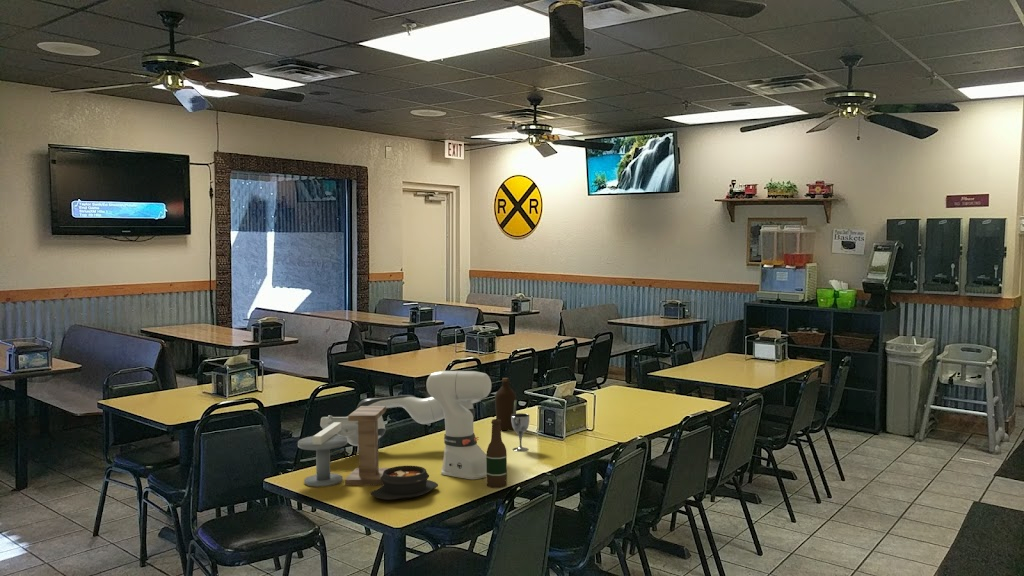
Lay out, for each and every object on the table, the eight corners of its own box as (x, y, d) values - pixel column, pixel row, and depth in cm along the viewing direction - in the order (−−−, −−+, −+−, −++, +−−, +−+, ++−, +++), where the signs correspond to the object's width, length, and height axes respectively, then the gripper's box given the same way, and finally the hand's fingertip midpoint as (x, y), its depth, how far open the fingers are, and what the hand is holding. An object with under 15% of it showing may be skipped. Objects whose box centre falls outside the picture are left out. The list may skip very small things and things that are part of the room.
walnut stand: (356, 472, 289) (355, 406, 288) (392, 472, 288) (391, 406, 287) (344, 485, 271) (342, 415, 270) (382, 486, 270) (380, 415, 269)
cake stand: (357, 480, 278) (356, 439, 277) (315, 491, 264) (315, 448, 264) (330, 471, 290) (329, 432, 289) (289, 482, 277) (288, 441, 276)
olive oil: (495, 431, 356) (494, 380, 355) (495, 426, 367) (494, 376, 366) (517, 431, 356) (516, 379, 356) (516, 426, 367) (516, 376, 366)
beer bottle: (511, 483, 272) (510, 418, 271) (501, 489, 265) (501, 422, 264) (492, 480, 275) (491, 416, 274) (482, 486, 268) (481, 421, 267)
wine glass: (508, 450, 319) (508, 416, 319) (515, 446, 327) (515, 412, 326) (525, 452, 316) (525, 417, 316) (532, 448, 324) (532, 414, 323)
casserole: (390, 509, 245) (390, 484, 245) (360, 496, 258) (359, 473, 258) (449, 492, 262) (449, 468, 262) (417, 481, 276) (417, 459, 275)
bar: (334, 429, 294) (334, 422, 294) (341, 429, 294) (341, 422, 294) (313, 444, 270) (312, 436, 270) (321, 444, 270) (320, 436, 270)
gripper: (372, 434, 312) (365, 424, 300) (324, 434, 313) (315, 424, 301) (374, 420, 315) (366, 409, 303) (326, 420, 316) (317, 409, 304)
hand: (341, 417), depth 302 cm, fingers open, 8 cm apart
